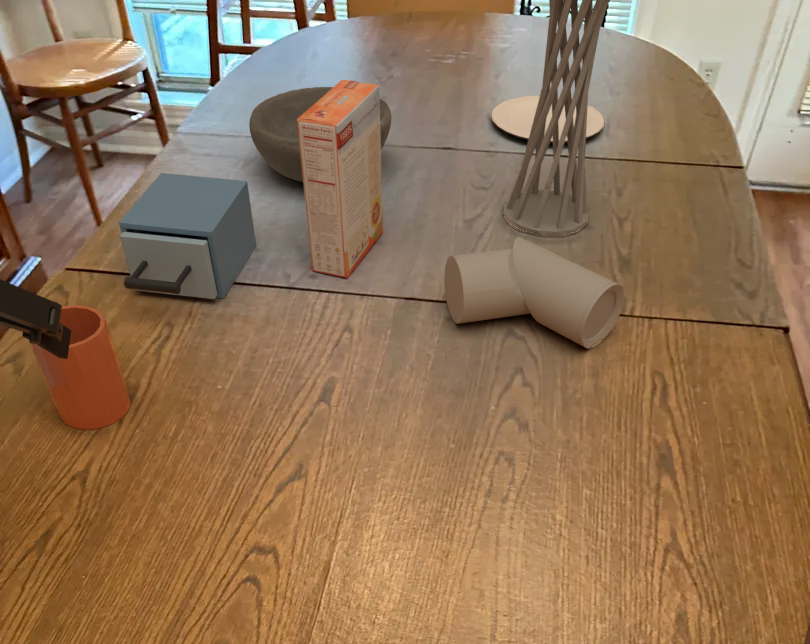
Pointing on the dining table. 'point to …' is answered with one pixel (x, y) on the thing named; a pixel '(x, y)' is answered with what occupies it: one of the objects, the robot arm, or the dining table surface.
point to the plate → (521, 113)
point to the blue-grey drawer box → (200, 218)
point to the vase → (545, 207)
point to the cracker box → (342, 176)
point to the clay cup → (85, 372)
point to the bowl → (292, 128)
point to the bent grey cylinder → (533, 291)
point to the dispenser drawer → (169, 264)
